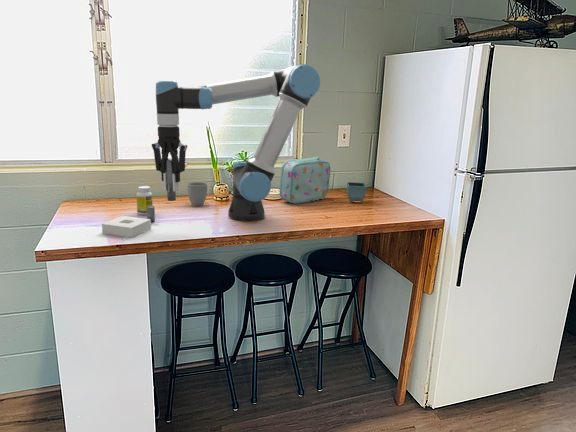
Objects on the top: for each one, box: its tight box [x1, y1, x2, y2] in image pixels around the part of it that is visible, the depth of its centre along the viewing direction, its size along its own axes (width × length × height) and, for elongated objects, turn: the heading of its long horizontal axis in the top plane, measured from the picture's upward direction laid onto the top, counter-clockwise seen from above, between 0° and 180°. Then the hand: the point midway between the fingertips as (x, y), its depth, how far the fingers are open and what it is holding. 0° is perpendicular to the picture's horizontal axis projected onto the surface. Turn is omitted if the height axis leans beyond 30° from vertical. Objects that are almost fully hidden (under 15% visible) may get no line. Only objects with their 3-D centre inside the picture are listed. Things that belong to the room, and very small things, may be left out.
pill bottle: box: [136, 185, 154, 216], centre depth 194 cm, size 6×6×11 cm
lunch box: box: [279, 156, 331, 205], centre depth 227 cm, size 27×10×21 cm, turn 133°
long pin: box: [166, 158, 177, 202], centre depth 172 cm, size 3×3×15 cm
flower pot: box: [346, 181, 368, 202], centre depth 230 cm, size 9×9×9 cm
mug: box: [186, 181, 208, 207], centre depth 213 cm, size 12×9×10 cm
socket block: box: [101, 215, 152, 238], centre depth 170 cm, size 12×12×4 cm
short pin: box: [146, 205, 156, 224], centre depth 183 cm, size 3×3×6 cm
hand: (171, 190), depth 173 cm, fingers closed on long pin, 3 cm apart
